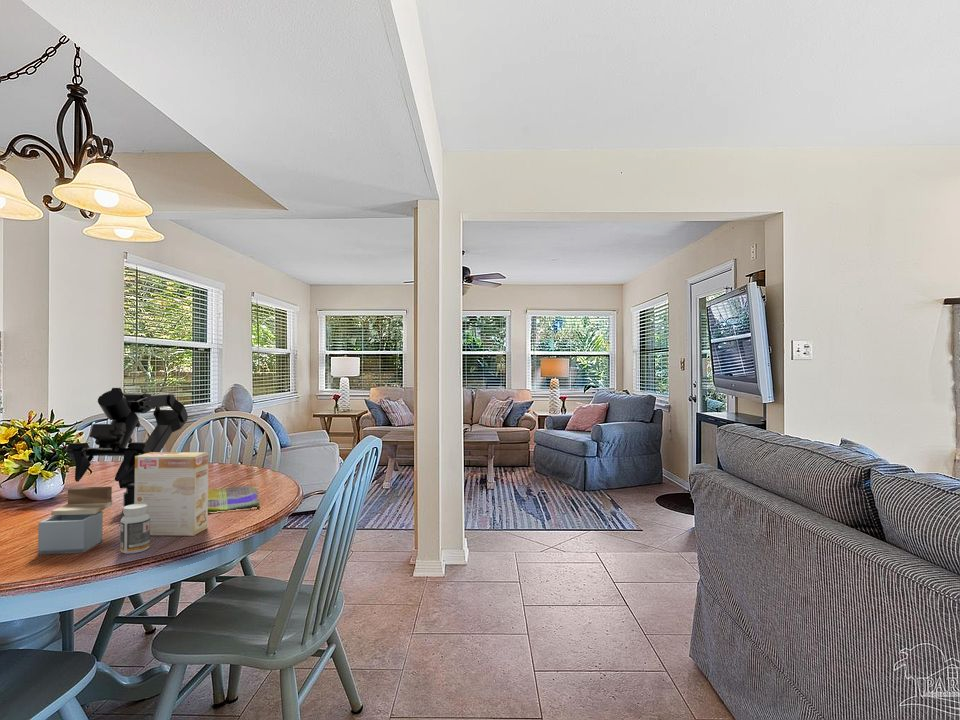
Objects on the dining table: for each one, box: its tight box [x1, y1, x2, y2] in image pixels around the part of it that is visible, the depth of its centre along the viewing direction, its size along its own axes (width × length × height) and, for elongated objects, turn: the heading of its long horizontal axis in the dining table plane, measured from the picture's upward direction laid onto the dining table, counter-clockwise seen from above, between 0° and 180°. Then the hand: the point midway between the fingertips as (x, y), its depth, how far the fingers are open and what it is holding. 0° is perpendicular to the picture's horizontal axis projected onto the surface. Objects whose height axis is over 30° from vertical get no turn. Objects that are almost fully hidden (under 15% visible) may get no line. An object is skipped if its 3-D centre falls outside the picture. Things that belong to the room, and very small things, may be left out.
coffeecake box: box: [134, 451, 209, 537], centre depth 136 cm, size 15×7×20 cm, turn 90°
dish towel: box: [208, 485, 260, 513], centre depth 165 cm, size 18×24×3 cm
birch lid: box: [50, 486, 113, 516], centre depth 128 cm, size 8×9×4 cm
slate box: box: [37, 510, 104, 555], centre depth 123 cm, size 8×9×7 cm
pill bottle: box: [119, 504, 151, 555], centre depth 122 cm, size 6×6×10 cm
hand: (96, 480), depth 136 cm, fingers open, 9 cm apart
